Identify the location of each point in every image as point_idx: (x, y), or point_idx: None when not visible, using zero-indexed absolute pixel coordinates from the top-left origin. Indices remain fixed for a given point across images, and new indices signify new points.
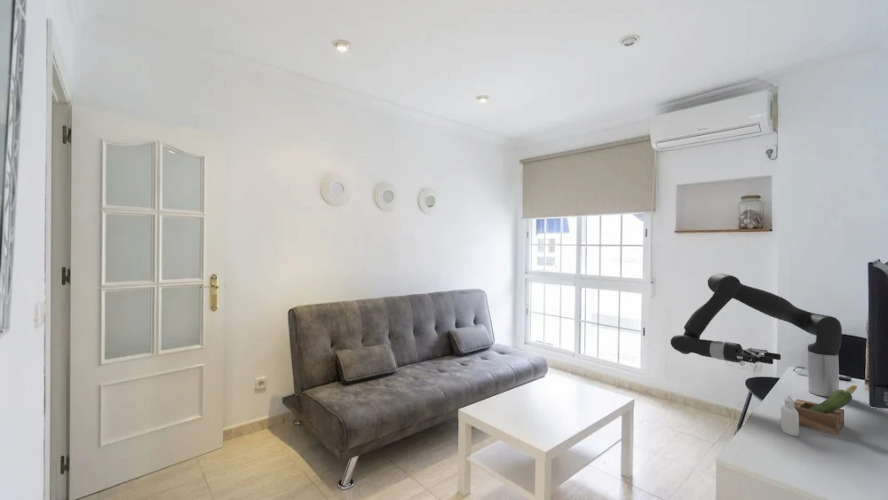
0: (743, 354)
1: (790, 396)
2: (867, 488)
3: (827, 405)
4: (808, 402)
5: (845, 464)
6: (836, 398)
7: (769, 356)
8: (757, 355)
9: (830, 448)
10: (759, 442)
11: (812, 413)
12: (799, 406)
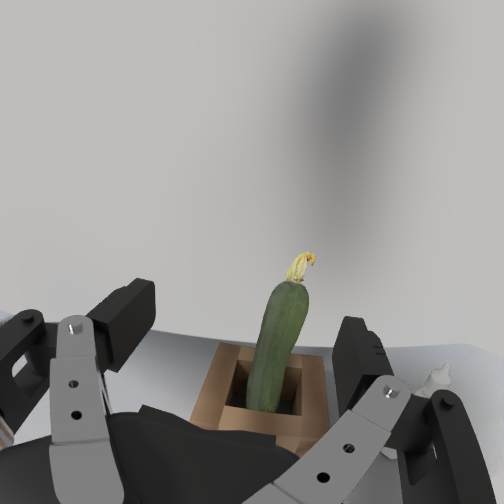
0: (465, 497)
1: (447, 363)
2: (470, 348)
3: (290, 350)
4: (213, 397)
5: (439, 367)
6: (306, 313)
7: (121, 348)
8: (395, 383)
9: None
10: (499, 443)
11: (325, 391)
12: (294, 415)
